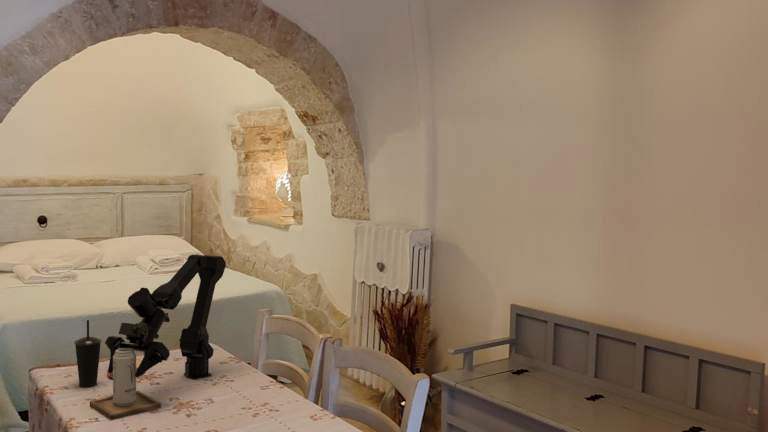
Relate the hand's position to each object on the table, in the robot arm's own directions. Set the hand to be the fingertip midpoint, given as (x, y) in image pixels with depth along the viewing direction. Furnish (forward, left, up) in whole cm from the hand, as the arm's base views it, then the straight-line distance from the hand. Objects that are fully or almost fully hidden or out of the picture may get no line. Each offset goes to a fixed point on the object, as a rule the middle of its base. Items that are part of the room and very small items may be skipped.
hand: (122, 374), depth 192 cm
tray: (-1, 0, -9) cm, 10 cm away
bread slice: (-16, -34, -10) cm, 39 cm away
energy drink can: (-1, -1, -9) cm, 9 cm away
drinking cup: (-1, -26, -10) cm, 28 cm away
